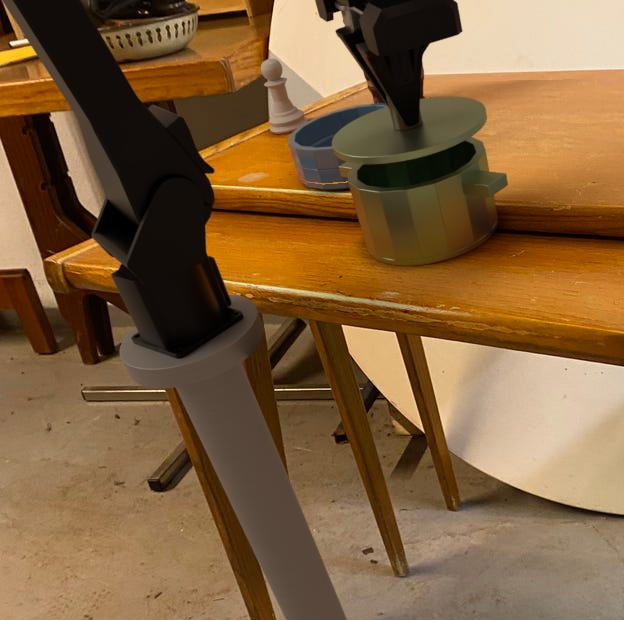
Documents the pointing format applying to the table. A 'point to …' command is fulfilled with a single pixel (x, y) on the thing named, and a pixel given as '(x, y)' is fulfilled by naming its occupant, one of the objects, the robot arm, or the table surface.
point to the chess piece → (281, 100)
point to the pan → (323, 146)
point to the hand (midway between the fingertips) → (407, 120)
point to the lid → (409, 131)
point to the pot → (426, 204)
